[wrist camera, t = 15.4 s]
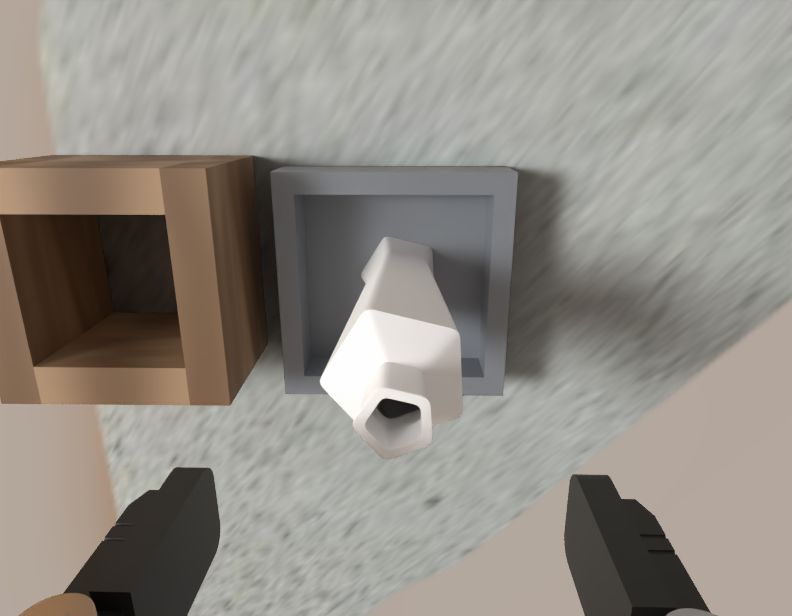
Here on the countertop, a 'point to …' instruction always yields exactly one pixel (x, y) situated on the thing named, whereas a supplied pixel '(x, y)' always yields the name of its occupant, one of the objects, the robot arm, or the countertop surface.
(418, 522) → the countertop surface
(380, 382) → the perfume bottle
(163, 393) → the wooden cubby box
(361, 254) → the tray
